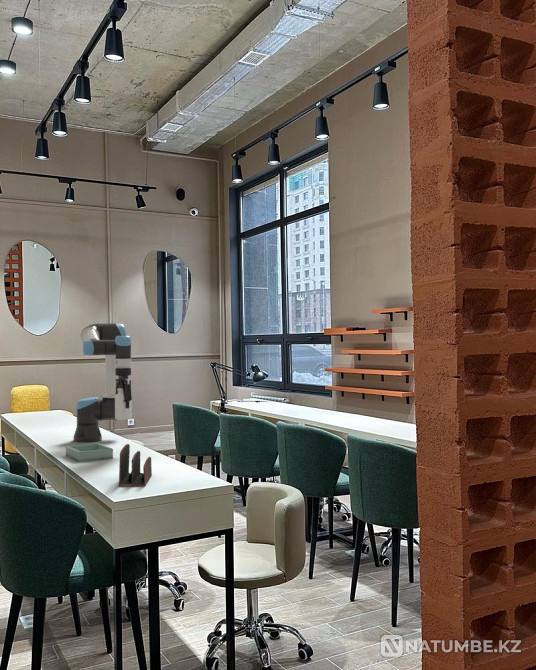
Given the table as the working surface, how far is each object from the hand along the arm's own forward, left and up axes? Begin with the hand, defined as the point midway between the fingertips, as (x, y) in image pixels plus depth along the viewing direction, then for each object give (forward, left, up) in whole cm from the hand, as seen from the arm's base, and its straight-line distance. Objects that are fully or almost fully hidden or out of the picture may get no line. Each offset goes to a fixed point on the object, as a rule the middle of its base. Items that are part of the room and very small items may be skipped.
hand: (123, 414), depth 317 cm
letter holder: (+63, -19, -20) cm, 68 cm away
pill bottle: (0, 0, -2) cm, 2 cm away
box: (0, -17, -19) cm, 26 cm away
